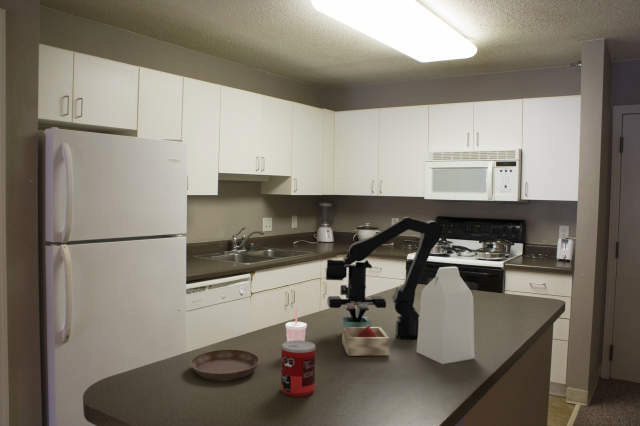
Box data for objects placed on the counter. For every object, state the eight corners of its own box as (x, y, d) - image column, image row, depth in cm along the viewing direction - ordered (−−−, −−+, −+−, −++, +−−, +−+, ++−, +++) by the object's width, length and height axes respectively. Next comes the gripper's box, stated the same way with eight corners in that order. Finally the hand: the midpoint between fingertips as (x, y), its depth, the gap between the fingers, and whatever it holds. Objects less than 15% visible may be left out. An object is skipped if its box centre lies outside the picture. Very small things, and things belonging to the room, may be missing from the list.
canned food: (280, 384, 127) (281, 340, 126) (313, 384, 128) (314, 340, 127) (280, 397, 119) (281, 350, 119) (315, 397, 120) (316, 350, 119)
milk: (442, 364, 145) (445, 271, 144) (416, 351, 155) (419, 265, 154) (474, 358, 151) (478, 269, 149) (447, 347, 161) (450, 263, 160)
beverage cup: (309, 353, 151) (310, 305, 151) (301, 359, 145) (302, 310, 145) (289, 350, 153) (290, 303, 153) (281, 356, 147) (282, 308, 147)
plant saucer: (226, 389, 123) (227, 377, 123) (175, 374, 133) (175, 362, 133) (273, 369, 138) (273, 357, 138) (223, 356, 148) (223, 345, 148)
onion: (374, 356, 150) (375, 328, 150) (355, 353, 152) (355, 326, 152) (378, 350, 156) (379, 324, 155) (359, 348, 157) (360, 322, 157)
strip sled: (371, 331, 175) (371, 316, 175) (389, 355, 150) (389, 338, 150) (336, 331, 174) (336, 316, 174) (348, 355, 149) (348, 338, 149)
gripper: (379, 277, 180) (377, 321, 181) (325, 276, 178) (324, 321, 178) (387, 282, 169) (385, 330, 170) (330, 282, 167) (328, 330, 167)
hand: (355, 327), depth 171 cm, fingers closed, pressing on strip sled
